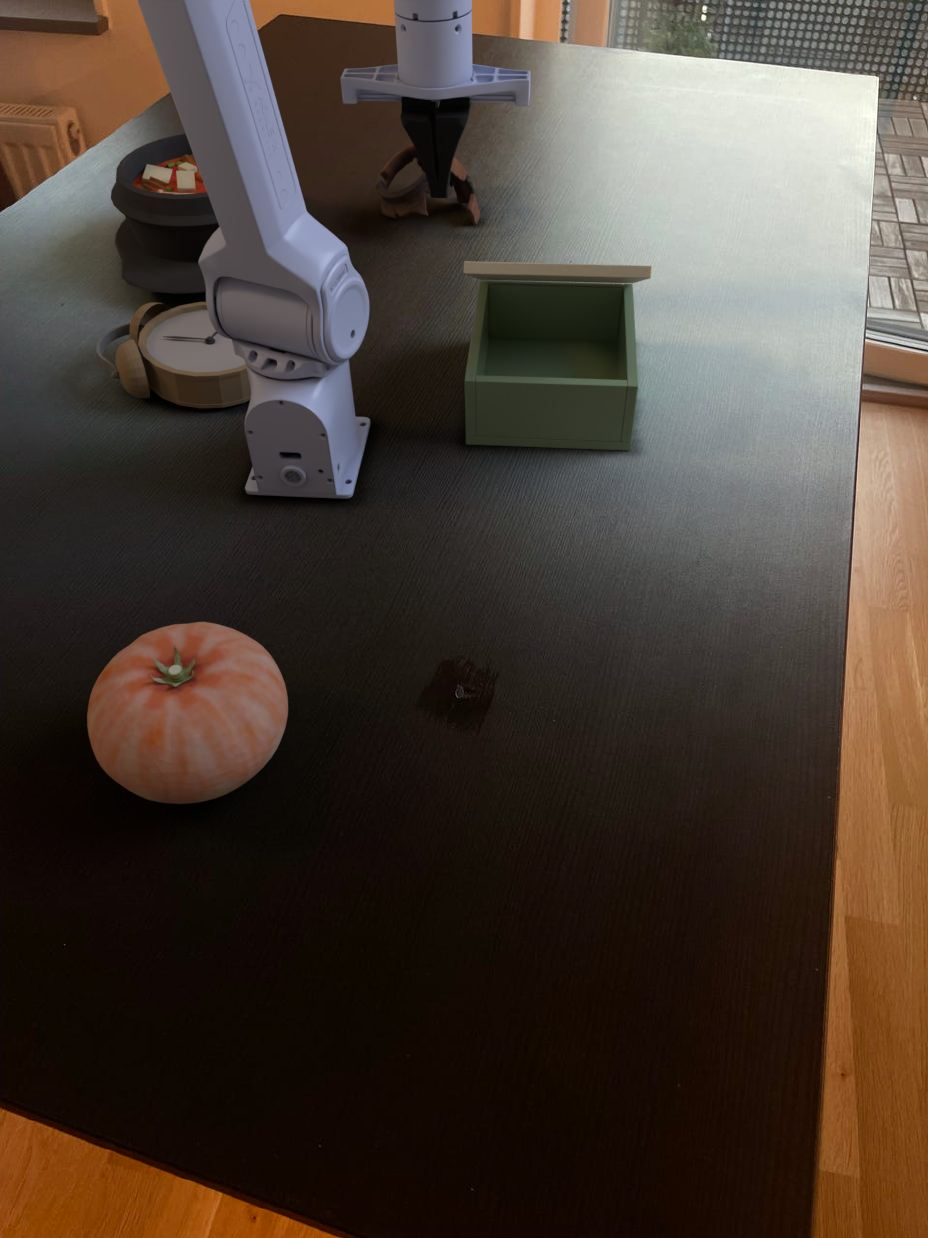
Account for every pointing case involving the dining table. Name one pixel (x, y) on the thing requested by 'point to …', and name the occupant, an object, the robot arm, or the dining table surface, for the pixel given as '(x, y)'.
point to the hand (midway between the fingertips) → (440, 192)
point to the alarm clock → (177, 358)
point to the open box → (552, 365)
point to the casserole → (163, 217)
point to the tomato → (187, 713)
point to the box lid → (557, 272)
